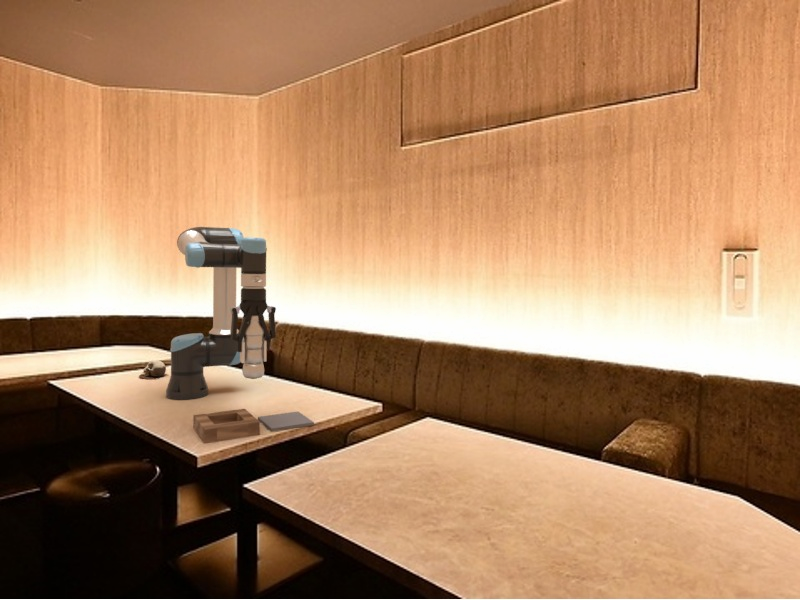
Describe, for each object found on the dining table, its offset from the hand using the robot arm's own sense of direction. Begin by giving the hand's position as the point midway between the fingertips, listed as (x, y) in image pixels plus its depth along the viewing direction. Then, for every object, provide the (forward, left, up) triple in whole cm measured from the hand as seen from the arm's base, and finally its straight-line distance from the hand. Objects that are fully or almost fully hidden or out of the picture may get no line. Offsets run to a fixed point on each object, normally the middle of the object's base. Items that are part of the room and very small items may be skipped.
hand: (253, 361), depth 166 cm
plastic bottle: (0, 0, -6) cm, 6 cm away
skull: (-91, -17, -21) cm, 95 cm away
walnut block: (0, -8, -21) cm, 23 cm away
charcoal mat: (0, +11, -21) cm, 24 cm away
